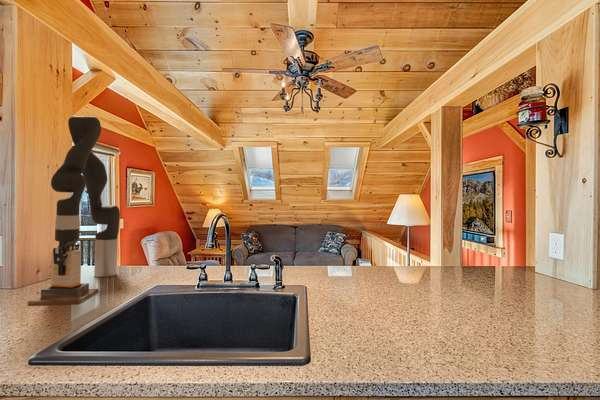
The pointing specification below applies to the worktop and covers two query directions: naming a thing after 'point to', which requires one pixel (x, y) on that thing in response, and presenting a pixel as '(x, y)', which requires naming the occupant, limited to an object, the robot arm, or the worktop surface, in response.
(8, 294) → the worktop surface
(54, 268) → the supplement box
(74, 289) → the slot holder
